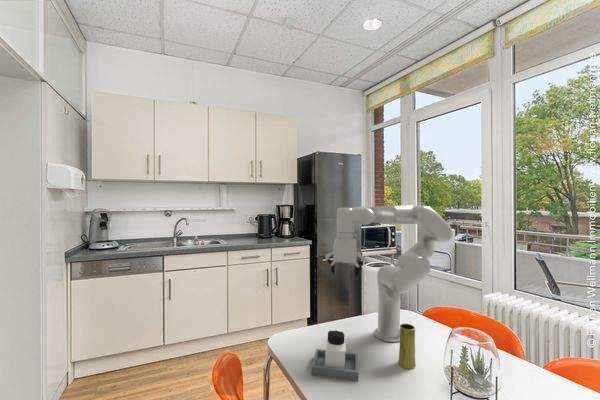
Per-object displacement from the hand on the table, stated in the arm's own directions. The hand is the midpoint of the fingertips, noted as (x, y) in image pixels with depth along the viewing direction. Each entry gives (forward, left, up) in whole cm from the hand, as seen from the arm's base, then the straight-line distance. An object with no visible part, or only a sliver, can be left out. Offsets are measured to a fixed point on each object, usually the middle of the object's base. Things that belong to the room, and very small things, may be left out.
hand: (344, 275), depth 126 cm
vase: (-24, +14, -28) cm, 40 cm away
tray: (+2, +22, -28) cm, 36 cm away
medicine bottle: (+2, +22, -28) cm, 35 cm away
